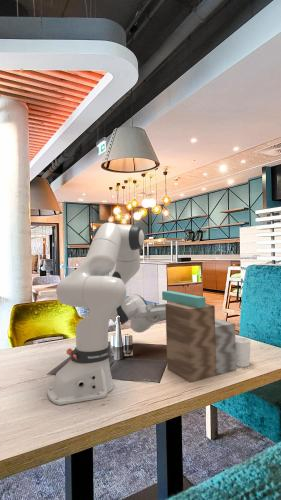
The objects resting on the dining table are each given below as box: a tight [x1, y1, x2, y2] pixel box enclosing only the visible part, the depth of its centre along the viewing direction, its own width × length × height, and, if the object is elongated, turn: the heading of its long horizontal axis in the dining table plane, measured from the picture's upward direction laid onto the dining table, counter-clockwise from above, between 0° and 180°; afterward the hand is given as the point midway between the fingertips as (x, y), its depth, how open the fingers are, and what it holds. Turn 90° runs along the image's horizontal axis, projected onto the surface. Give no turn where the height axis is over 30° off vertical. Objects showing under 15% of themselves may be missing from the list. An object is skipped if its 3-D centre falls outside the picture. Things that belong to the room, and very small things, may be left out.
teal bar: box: [161, 290, 207, 308], centre depth 128 cm, size 4×24×4 cm, turn 29°
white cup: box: [235, 336, 251, 368], centre depth 131 cm, size 8×8×10 cm
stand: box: [165, 302, 237, 383], centre depth 126 cm, size 22×15×26 cm
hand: (164, 303), depth 139 cm, fingers open, 8 cm apart
